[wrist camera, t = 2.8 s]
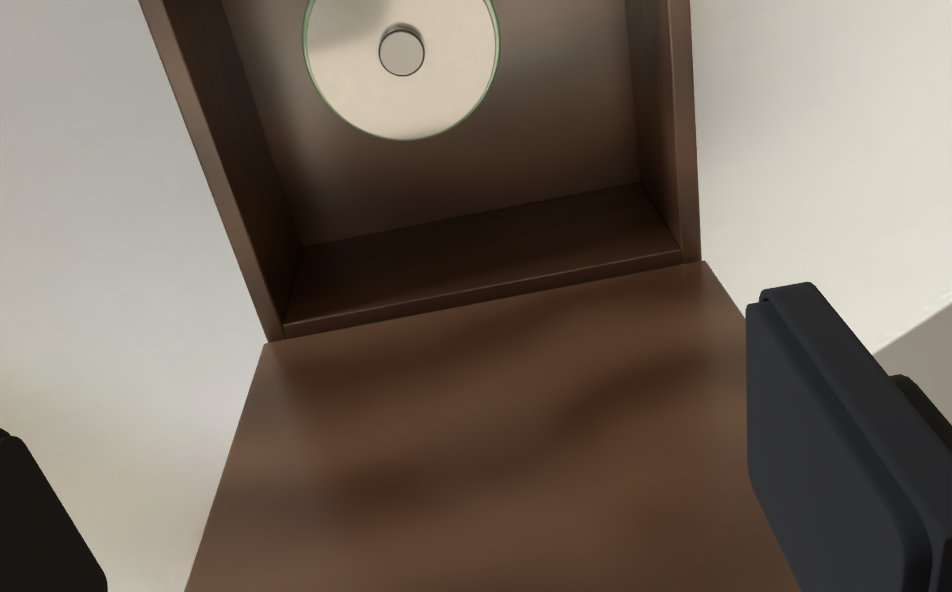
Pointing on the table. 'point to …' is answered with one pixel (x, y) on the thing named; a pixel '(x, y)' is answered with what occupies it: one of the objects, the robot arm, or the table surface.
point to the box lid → (502, 451)
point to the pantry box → (442, 162)
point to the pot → (401, 62)
